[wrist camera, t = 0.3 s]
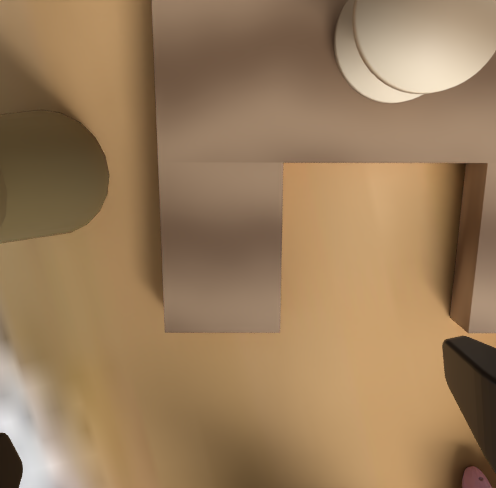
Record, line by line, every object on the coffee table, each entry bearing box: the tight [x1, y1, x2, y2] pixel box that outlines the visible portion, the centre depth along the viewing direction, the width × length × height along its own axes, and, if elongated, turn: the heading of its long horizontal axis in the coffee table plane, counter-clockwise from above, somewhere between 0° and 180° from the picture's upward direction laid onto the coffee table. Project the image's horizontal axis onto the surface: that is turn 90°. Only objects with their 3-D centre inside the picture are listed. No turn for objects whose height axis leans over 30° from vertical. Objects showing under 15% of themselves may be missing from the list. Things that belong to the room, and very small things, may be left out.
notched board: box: [152, 0, 496, 333], centre depth 19 cm, size 16×20×6 cm
